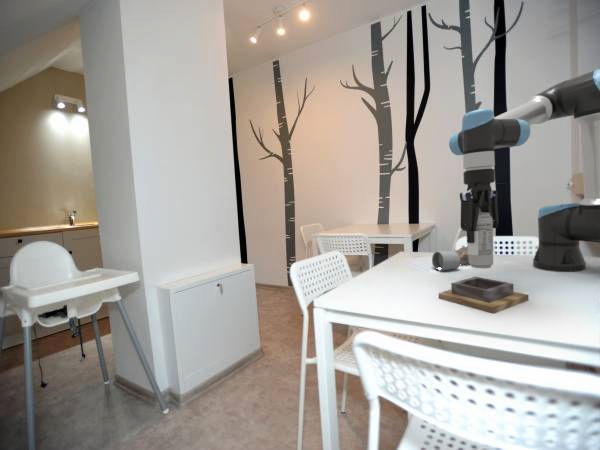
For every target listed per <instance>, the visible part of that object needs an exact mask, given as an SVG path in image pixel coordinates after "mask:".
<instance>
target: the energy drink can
mask: <svg viewBox="0 0 600 450" xmlns="http://www.w3.org/2000/svg"><path fill="white" fill-rule="evenodd" d="M476 231H478V245H479V255H470V254H469V264H468V265H470V267H472V268H474V269H491V268H492V265H494V252H493V249H494V228H493V222H492V217H491V216H490V213H488V212H481V211H479V214H478V220H477V226H476Z"/></svg>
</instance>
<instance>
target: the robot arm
mask: <svg viewBox="0 0 600 450" xmlns="http://www.w3.org/2000/svg"><path fill="white" fill-rule="evenodd" d="M571 116H573V121H575V122H576V123H578V124H579V125H580V142H581V143H580V145H581V159H582V161H581V162H582V175H583V176H582V177H583V178H582V180H583V197H584V198H583V199H581V200H580V201H579V202H572V203H563V204H556V205H548V206H543V207H540V209H538V214H537V215H538V217H537V220H538V221H537V222H538V223H537V227H538V231H537V232H538V247H537V250H536V252H535V255H534V258H533V259H532V260H533V261H532V267H534V268H536V269H540V270H545V271H552V272H581V271H585V270H587V264H586V263H587V261H586V260H585V258H584V256H583V253H582V251H581V249H580V242H589V243H598V244H599V243H600V68H596V69H595V70H593V71H590V72H588V73H583V74H580V75H579V76H576V77H573V78H570V79H567V80H564V81H561V82H558V83H556V84H555V85H553V86H550V87H548V88H547V89H545V90H543V91H541V92H539V93H537V94H535V95H534V96H532V97H529V98H528V99H527V100H526V101H525V103H523V104H521V105H518V106H516V107H514V108H513V109H512V108H511V109H510V110H507V111H506V112H503V113H500V114H499V115H497V116H495V113H494V110H492V109H491V108H482V109H481V108H480V109H475V110H472V111H471V110H470V111H468V112H466V113H465V114H463V116H462V120H461V122H462V123H461V130H460V131H459V132H456V133H454V134H453V135H451V137H450V139H449V140H448V142H449V143H448V147H449V150H450V151H451V153H453V154H454V155H455V156H462V161H463V162H462V167H463V169H464V170H465V171H464V172H463V184H464V185H467V188H466V191H465V192H460V193H459V199H460V230H462V231H464V232H466V242H467V243H466V244H467V246H466V247H468V254H470V255H479V245H478V231H476V226H477V220H478V214H479V212H488V213H490V216H491V217H492V222H493V229H497V228H498V227H499V226H498V225H499V223H500V221H499V203H498V196H499V195H498V194H499V190H496V189H495V190H493V189H492V187H491V184H492V183H495V181H496V173H495V172H496V171H495V169H494V167H495V166H496V162H495V161H496V160H495V150H497V149H501V148H513V147H514V148H515V147H520V146H522V145H524V144H526V142H527V141H528V140H529V138H530V136H531V127H530V126H532V125H540V124H543V123H546V122H549V121H551V120H556V119H562V118H567V117H571ZM494 252H495V251H494V248H493V253H494Z"/></svg>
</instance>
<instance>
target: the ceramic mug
mask: <svg viewBox="0 0 600 450" xmlns="http://www.w3.org/2000/svg"><path fill="white" fill-rule="evenodd" d="M454 251H455V250H449V251H448V250H447V251H445V250H444V251H443V250H442V251H441V250H439V251H434V253H433V254H432V257H431V262H432V267H433V266H434V267H433V268H434V269H435V268H438V267H441V268H442V269H441V270H440V271H439V272H443V271H445V270H446V271H453V270H452V269H454V270H456V269H458V268H460V266H461V265H460V263H461V260H460V256H459V255H458V253H456V252H454Z"/></svg>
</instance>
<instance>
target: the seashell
mask: <svg viewBox="0 0 600 450" xmlns="http://www.w3.org/2000/svg"><path fill="white" fill-rule="evenodd" d="M453 251H454V252H456V253H458V255H459V256H460V260H461V263H460V264H465V265H470V264H469V254H468V246H464V247H460V248H458V249H457V250H453Z"/></svg>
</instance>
